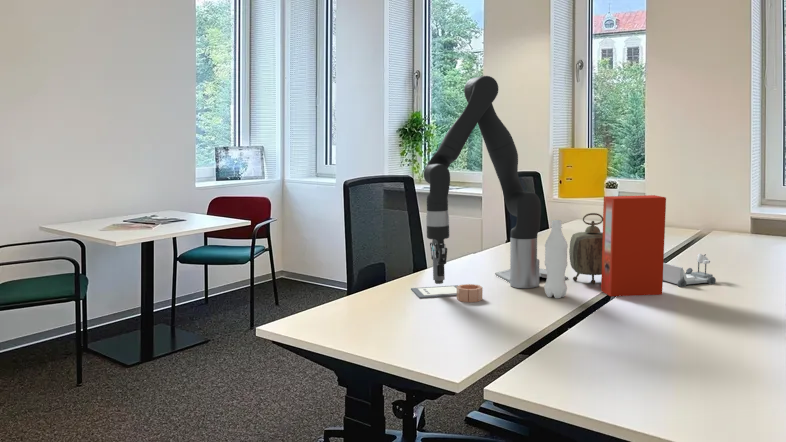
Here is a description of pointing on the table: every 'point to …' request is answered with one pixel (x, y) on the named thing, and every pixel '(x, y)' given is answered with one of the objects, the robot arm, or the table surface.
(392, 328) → the table surface
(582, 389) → the table surface
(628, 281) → the file binder
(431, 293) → the grey tablet
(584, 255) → the tabletop clock
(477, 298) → the pen cup
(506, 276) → the gadget
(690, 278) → the toy car
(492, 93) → the robot arm
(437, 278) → the marker
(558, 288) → the water bottle
